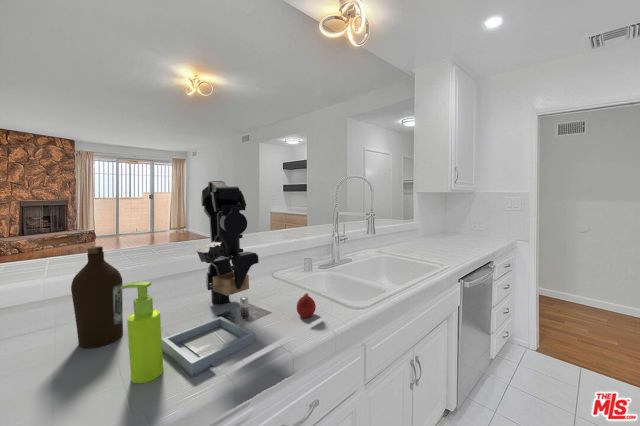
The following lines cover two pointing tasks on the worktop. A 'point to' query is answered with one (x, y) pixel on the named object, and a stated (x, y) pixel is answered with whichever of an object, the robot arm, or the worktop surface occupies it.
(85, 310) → the olive oil
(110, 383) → the worktop surface
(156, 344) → the soap dispenser
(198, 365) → the light blue frame
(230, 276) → the open wooden box frame
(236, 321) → the stake base
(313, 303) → the onion
